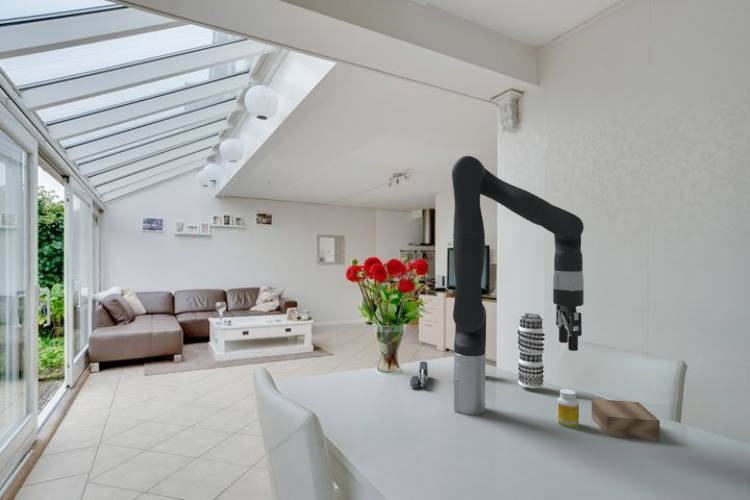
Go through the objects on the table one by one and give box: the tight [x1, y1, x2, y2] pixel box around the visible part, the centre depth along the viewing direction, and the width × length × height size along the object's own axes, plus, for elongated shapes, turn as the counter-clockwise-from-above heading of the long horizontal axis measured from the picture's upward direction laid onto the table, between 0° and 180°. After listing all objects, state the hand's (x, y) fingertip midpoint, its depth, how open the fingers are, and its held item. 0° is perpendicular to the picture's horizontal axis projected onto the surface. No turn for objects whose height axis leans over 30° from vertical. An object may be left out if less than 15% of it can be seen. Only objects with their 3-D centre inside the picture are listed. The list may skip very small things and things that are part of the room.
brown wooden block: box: [591, 398, 661, 442], centre depth 106 cm, size 12×12×6 cm
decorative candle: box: [516, 312, 546, 389], centre depth 142 cm, size 9×9×25 cm
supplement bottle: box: [556, 388, 580, 429], centre depth 109 cm, size 5×5×10 cm
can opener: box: [409, 360, 429, 389], centre depth 147 cm, size 19×6×5 cm, turn 168°
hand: (568, 346), depth 109 cm, fingers open, 8 cm apart
